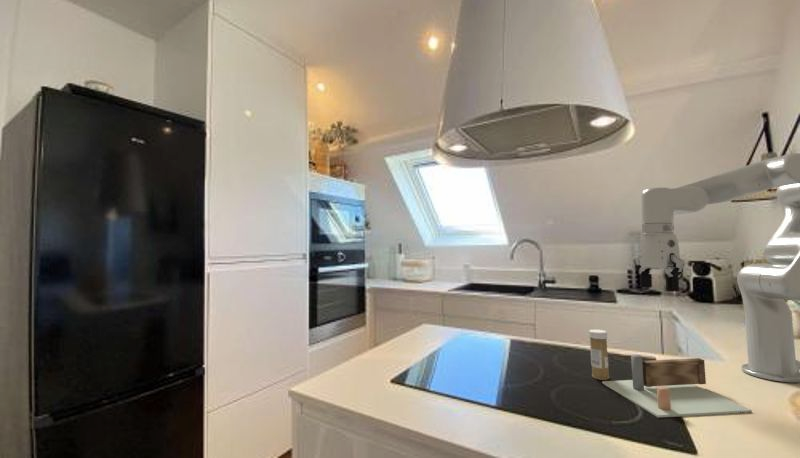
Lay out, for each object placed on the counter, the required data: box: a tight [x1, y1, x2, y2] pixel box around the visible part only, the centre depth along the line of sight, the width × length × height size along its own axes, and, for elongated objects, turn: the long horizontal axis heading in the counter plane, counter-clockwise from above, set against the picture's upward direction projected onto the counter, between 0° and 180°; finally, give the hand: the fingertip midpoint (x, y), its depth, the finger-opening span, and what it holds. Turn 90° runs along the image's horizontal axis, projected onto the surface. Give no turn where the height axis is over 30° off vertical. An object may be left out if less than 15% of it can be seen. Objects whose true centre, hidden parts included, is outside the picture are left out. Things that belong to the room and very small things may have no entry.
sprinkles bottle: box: [588, 329, 611, 381], centre depth 103 cm, size 5×5×13 cm
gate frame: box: [601, 354, 753, 419], centre depth 89 cm, size 22×20×9 cm
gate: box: [642, 357, 707, 387], centre depth 94 cm, size 16×2×6 cm, turn 93°
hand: (658, 289), depth 103 cm, fingers open, 9 cm apart
